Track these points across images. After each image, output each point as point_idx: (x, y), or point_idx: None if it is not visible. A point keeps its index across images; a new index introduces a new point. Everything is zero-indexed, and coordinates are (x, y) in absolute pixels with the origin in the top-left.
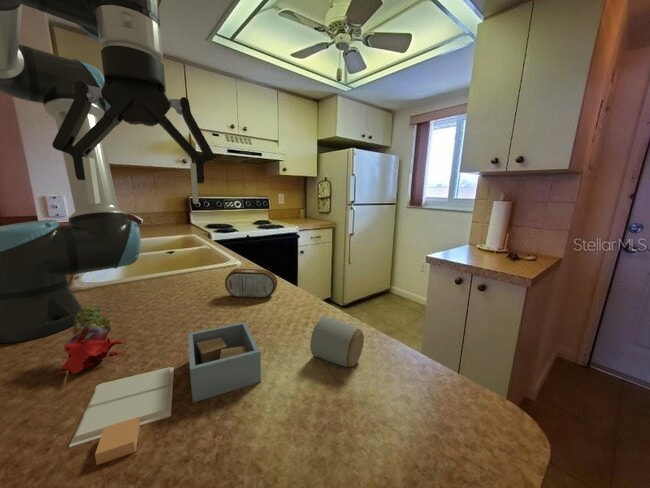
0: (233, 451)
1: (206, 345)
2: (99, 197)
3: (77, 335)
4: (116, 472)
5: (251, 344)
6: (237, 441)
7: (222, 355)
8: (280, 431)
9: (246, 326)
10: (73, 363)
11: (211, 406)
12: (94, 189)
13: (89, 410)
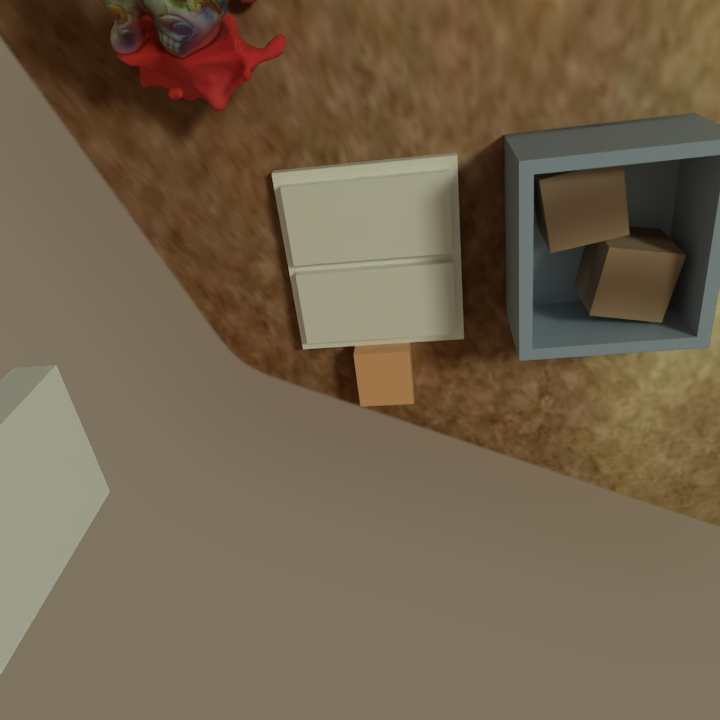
0: (566, 431)
1: (568, 208)
2: (31, 399)
3: (131, 29)
4: None
5: (701, 296)
6: (576, 417)
7: (605, 281)
8: (655, 425)
9: None
10: (170, 87)
11: None
12: (45, 562)
13: (301, 282)
